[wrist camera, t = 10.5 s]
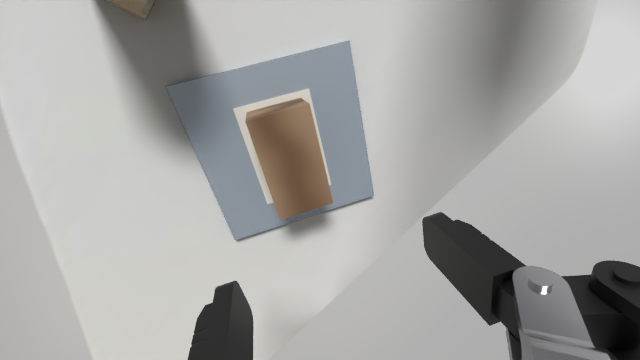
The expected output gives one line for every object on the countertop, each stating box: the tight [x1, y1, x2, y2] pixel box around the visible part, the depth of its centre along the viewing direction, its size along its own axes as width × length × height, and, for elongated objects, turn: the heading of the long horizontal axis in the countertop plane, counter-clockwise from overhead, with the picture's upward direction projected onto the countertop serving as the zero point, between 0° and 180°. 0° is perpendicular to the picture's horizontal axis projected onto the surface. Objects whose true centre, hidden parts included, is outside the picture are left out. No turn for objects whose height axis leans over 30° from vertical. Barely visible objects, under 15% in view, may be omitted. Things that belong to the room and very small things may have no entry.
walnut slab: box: [245, 98, 333, 220], centre depth 24 cm, size 5×9×4 cm, turn 14°
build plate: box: [166, 41, 374, 240], centre depth 26 cm, size 16×16×1 cm
